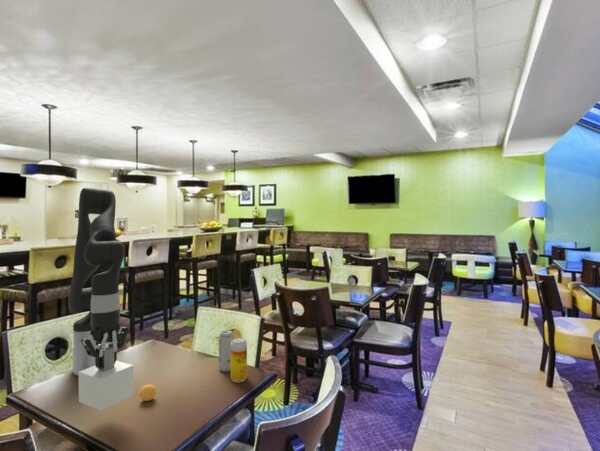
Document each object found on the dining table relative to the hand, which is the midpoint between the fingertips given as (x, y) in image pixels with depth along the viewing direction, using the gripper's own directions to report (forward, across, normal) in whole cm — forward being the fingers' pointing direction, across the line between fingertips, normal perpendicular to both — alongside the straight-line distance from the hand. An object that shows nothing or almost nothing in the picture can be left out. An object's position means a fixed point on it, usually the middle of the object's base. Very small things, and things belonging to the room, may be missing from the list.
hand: (106, 365), depth 102 cm
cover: (+10, 0, 0) cm, 10 cm away
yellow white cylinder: (+17, -40, +18) cm, 48 cm away
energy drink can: (+17, -46, +8) cm, 49 cm away
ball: (+15, -15, 0) cm, 21 cm away
